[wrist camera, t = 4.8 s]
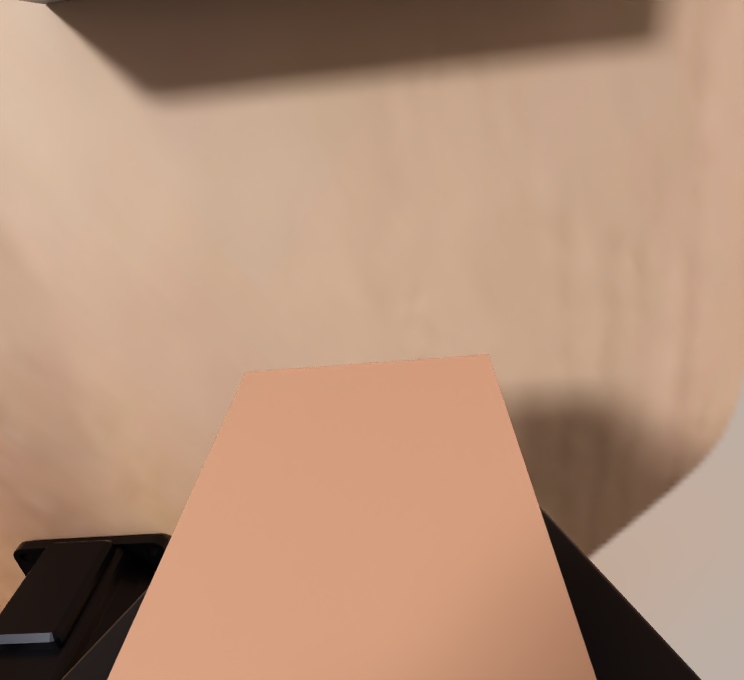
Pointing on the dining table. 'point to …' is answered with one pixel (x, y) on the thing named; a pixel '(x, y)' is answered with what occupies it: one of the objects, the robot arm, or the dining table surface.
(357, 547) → the block
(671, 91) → the dining table surface
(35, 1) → the tray
